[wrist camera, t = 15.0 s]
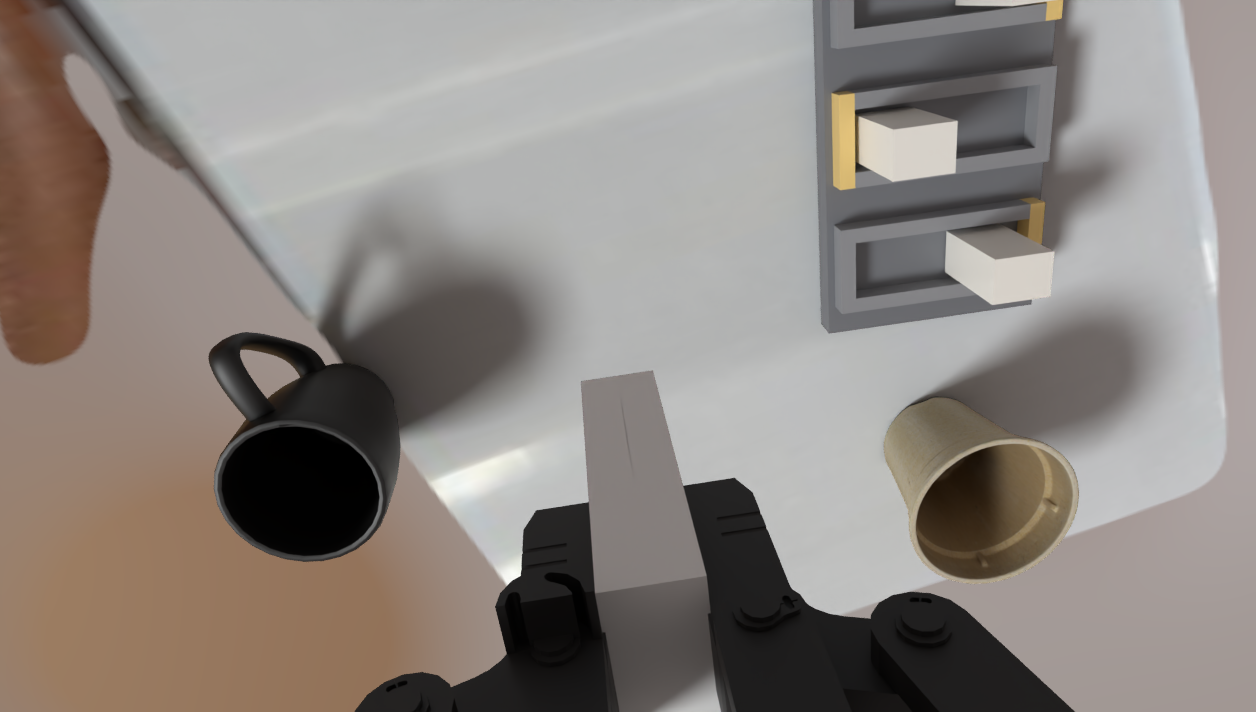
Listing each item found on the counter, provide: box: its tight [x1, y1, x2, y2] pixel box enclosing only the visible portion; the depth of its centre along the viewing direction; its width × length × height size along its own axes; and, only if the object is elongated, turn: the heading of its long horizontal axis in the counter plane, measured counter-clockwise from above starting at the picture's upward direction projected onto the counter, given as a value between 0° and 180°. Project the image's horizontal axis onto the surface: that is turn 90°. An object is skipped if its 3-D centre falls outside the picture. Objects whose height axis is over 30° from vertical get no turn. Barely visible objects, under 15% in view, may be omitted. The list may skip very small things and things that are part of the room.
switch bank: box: [813, 0, 1063, 333], centre depth 43 cm, size 22×12×3 cm, turn 7°
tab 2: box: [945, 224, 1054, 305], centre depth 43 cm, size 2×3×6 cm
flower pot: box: [884, 397, 1079, 584], centre depth 49 cm, size 9×9×9 cm
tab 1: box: [855, 107, 958, 182], centre depth 40 cm, size 2×3×6 cm
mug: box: [209, 332, 400, 562], centre depth 43 cm, size 8×12×10 cm
